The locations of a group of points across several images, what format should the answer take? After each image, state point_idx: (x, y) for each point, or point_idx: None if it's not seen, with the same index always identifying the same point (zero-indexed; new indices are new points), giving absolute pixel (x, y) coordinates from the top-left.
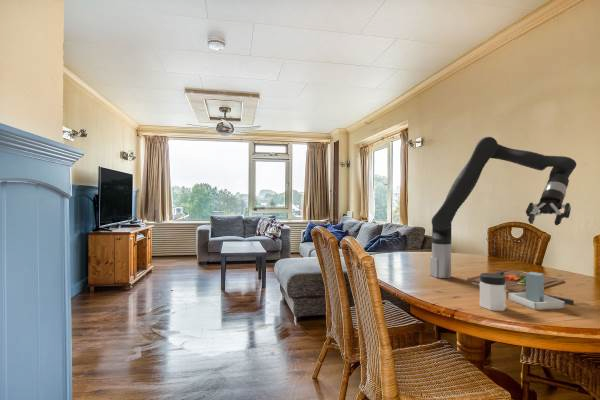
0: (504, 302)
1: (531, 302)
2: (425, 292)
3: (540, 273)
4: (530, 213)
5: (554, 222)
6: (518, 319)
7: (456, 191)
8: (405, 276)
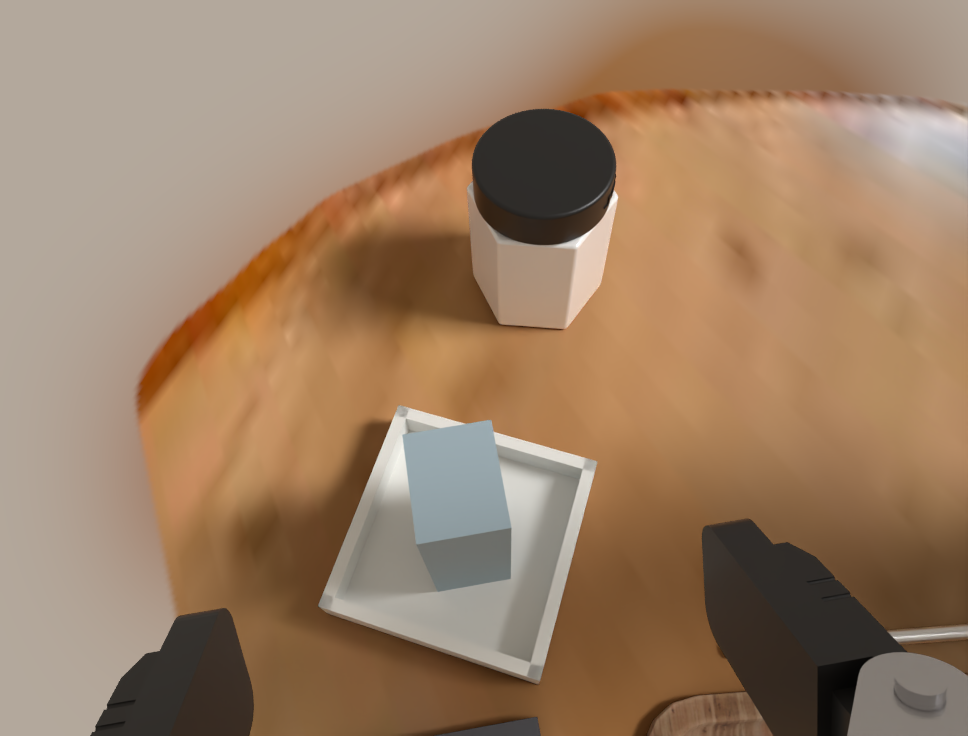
0: (477, 263)
1: (421, 412)
2: (866, 186)
3: (436, 528)
4: (921, 657)
5: (230, 615)
6: (377, 239)
7: None
8: None
